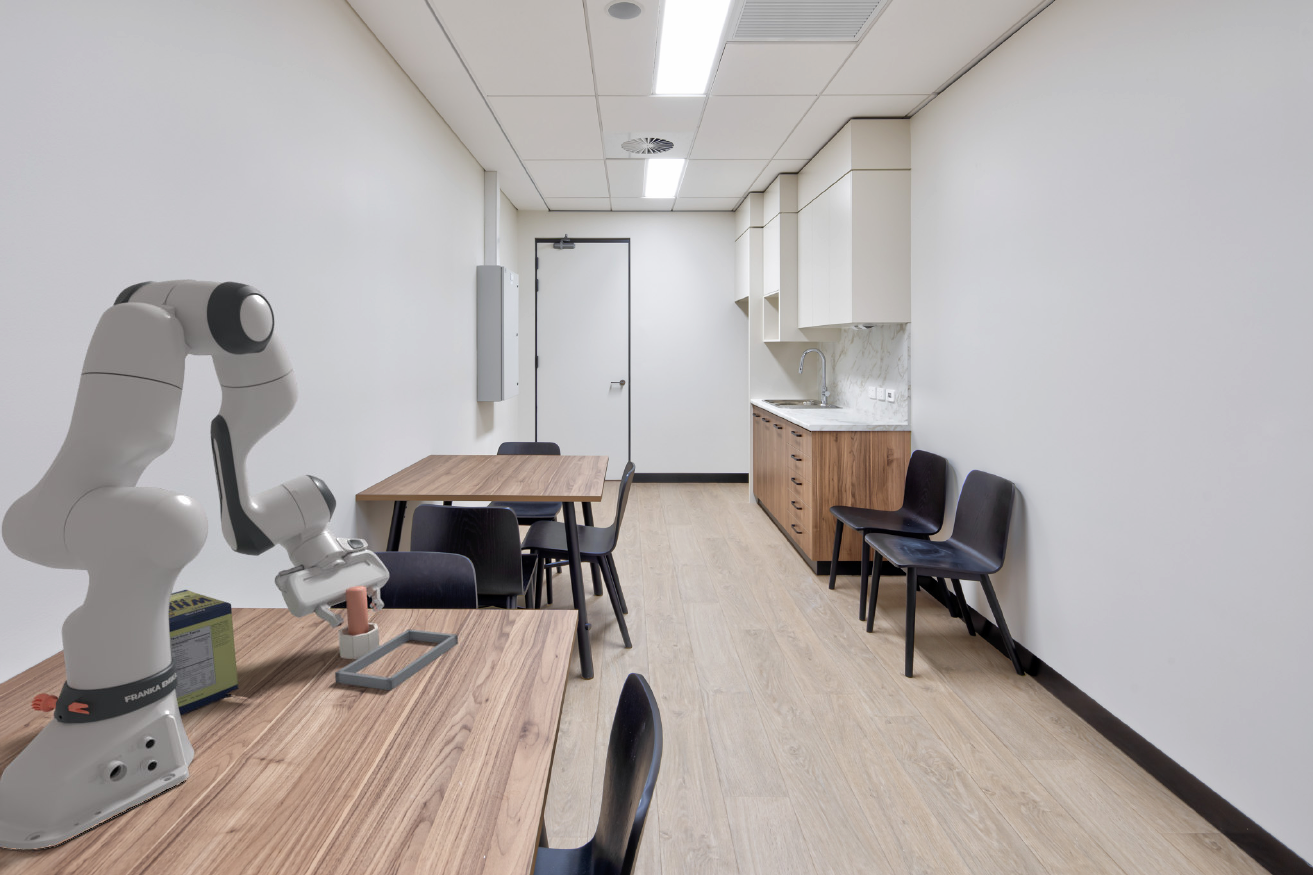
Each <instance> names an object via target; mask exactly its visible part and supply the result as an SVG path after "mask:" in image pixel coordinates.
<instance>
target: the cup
mask: <svg viewBox="0 0 1313 875" xmlns="http://www.w3.org/2000/svg"><path fill="white" fill-rule="evenodd" d="M368 628H369V632H368V633H365V634H359V635H354V636H352V635H348V625H346V626H344V627H343V628H340V629H339V630H338V646H339V648H338V649H339V656H340V658H342V659H348V660H349V659H350V660H357V659H359V658H361V657H362V656H364V655H366V654H367V653H369V652H371V651H373V650H374V649H376V648H378V647H379V646H380V633H379V626H378V623H372V622H368Z"/></svg>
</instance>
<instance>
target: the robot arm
mask: <svg viewBox="0 0 1313 875" xmlns="http://www.w3.org/2000/svg"><path fill="white" fill-rule="evenodd" d="M188 355H193V356H211V359H212V363H213V367H214V370H215V373H216V377H217V379H218V383H219V386H220V389H221V390H220V391H221V403H220V408H219V411H218V414H216V416H215V417H214V418H212V420H211V422H210V442H211V443H210V445H211V452H212V459H213V465H214V466H213V467H214V472H215V478H216V485H217V491H218V497H219V510H220V523H221V524H220V525H221V532H222V535H223V536H222V537H223V538H224V540H225V542H226V543H227V545H228V546H229V547H230V548H231V550H232V551H234V552H235V553H238V554H243V555H247V556H255V557H257V556H260V555H261V554H264V553H265V552H267V551H269V550H271V549H273V548H274V547H276V546H277V545H278V544H279V545H280V546H281V547H283V548H284V549H285V551H286V552H287V555H288V556H287V557H288V559H289V561H290V562H291V564H292V565H293V567H291V568H288V569H283V570H280V571H279V572H278V574H276V575H275V577H274V583H275V586H276V587H277V589H278V590H279V591H280V592H281V593H280V594H281V596H282V598H283V600H284V602H285V604H286V606H287V609H288V610H289V613H290V614H291V615H292V616H294V617H295V618H302V617H306V616H308V615H310V614H313V613H315V615H316V616H317V617H318V618H320V619H321V620H324V621H325V622H328V623H329V625H330V626H331V628H332V629H336V628H338V627H340V626H342V625H343V624H344V621H345V620H344V618H343V617H342V615H341V614H340V613H334V612H332V611H331V610H329V607H332V606H335V605H337V604H340V603H344V602H347V601H346V589H348V588H351V587H356V586H364V587H366V592H367V596H368V597H369V598H371V599H372V601H371V603H370V604H369V607H370V608H371V609H372V611H373V612H378V611H380V610H382V609H383V608H384V607H385V603H384V601H383V600H382V599H381V588H383V587H384V586H385V585H386V583H387V582H388V581H389V579H390V572H389V570H388V567H386V566H385V564H384V563H383V561H382V560H381V559H380V558H379V556H378V555H377V554H376V553H375V552H374V551H372V550H370V549H368V547H369V544H368V543H367V541H366V540H365V539H364V538H363V539H362V538H349V537H348V538H347V537H346V538H345V537H338V536H336V535H335V533H334V532H333V531H331V530H330V529H329V528H328V525H327V524H328V523H330V522H331V519H332V517H333V516H334V513H335V509H336V507H337V500H336V498H335V496H334V494H333V492H332V490H331V489H330V488H329V486H328V485H327V484H326V482H325V481H324V480H322V479H321V478H318V477H317V476H314V475H310V474H305V475H302V476H298V477H296V478H293V479H290V480H288V481H286V482H284V483H281V484H279V485H277V486H274V487H272V488H270V489H267V490H265V491H262V492H260V493H258V494H255V495H252V496H251V492H250V485H249V478H248V470H247V458H248V455H249V453H250V452H251V450H252V449H253V447H254V446H256V444H257V443H258V442H259V441H260V440H261V439H262V438H264V437H265V436H266V435H267V434H268V433H270V432H271V431H272V430H273V429H275V428H276V427H278V426H279V425H281V423H283V422H284V421H285V420H286V419H287V418H288V417H289V415H290V414H291V413H292V411H293V410H294V408H295V406H296V403H297V401H298V397H299V392H298V385H297V384H298V383H297V380H296V375H295V373H294V370H293V367H292V363H291V360H290V357H289V355H288V352H287V350H286V347H285V345H284V342H283V340H282V338H281V337H280V334H279V332H278V330H277V328H276V327H275V315H274V311H273V308H272V305H271V304H270V301H268V299H267V297H265V296H264V294H263V293H262V292H261V291H260V290H259V289H258V288H256V287H254V286H252V285H249V284H245V283H241V282H236V281H235V282H234V281H225V282H218V281H217V282H216V281H210V280H208V281H207V280H196V279H175V280H172V279H171V280H166V281H152V280H150V281H145V282H139V283H135V284H133V285H129V286H128V287H126V288H124V289H123V290H122V291H121V292H120V293H119V294H118V295H117V297H116V299H115V300H114V302H113V305H112V306H110V307H109V308H108V309H105V311H104V312H103V313H102V315H101V317H100V318H99V320H98V322H97V324H96V327H95V329H94V331H93V334H92V336H91V339H90V341H89V345H88V348H87V350H86V354H85V357H84V361H83V366H82V369H81V373H80V378H79V379H80V380H79V385H78V389H77V394H76V398H75V402H74V407H73V411H72V415H71V420H70V425H69V427H68V431H67V434H66V436H65V439H64V441H63V443H62V445H61V447H60V450H59V451H58V453H57V455H56V456H55V458H54V460H53V461H52V462H51V464H50V467H48V469H47V470H46V472H45V473H44V474H43V476H42V478H41V479H40V480H39V481H38V482H37V484H36V485H34V486H33V487H32V489H30V490H29V491H28V492H26V493H25V494H22V496H20V497H19V498H17V499H16V500H15V501H13V503H12V504H11V505H10V506H9V508H8V509H7V510H6V512H5V514H4V516H3V519H2V523H1V537H2V541H3V542H4V544H5V547H7V549H8V550H9V551H10V552H11V553H12V554H13V555H14V556H16V557H18V558H20V559H22V560H26V561H28V562H30V563H34V564H37V565H39V566H44V567H46V568H51V569H61V570H74V571H76V570H78V571H86V572H87V574H88V579H89V580H88V587H87V592H86V594H85V599H84V601H83V604H81V605H80V606H79V607H76V608H75V609H74V610H73V611H72V612H70V614H69V615H67V616H66V618H65V619H64V621H63V623H62V626H61V638H62V647H63V657H64V665H65V666H64V667H65V676H66V680H65V682H64V683H63V685H62V688H61V690H60V693H59V696H57V695H55V694H48V693H39V694H37V695H36V696H34V697H33V700H32V701H31V704H30V706H31V709H32V710H34V711H39V712H40V711H42V712H44V713H49V712H52V711H53V710H54V712H53V718H52V719H50V721H49V722H48V724H46V725H45V726H44V728H43V729H41V730H40V732H39V733H38V734H37V735H36V736H35V737H34V738H33V740H31V742H30V743H28V745H27V746H25V748H24V749H23V750H22V751H21V752H20V753H19V754H18V755H17V756H16V757H15V758H14V759H13V760H12V761H11V762H10V763H9V764H8V765H7V766H6V767H5V769H4V770H3V773H2V774H1V777H0V847H6V848H16V849H19V848H20V849H34V848H41V847H47V846H49V845H55V844H57V843H59V842H61V841H63V840H65V839H68V838H69V837H72V836H74V835H77V834H78V833H81V832H82V831H85V830H86V829H88V828H91V827H92V826H94V825H95V824H98V823H99V822H101V821H103V820H105V819H108V818H109V817H111V816H113V815H115V814H117V813H119V812H122V811H124V810H126V809H127V808H129V807H132V806H134V805H135V804H139V803H141V802H142V801H145V800H146V799H148V798H149V797H152V796H153V795H156V794H158V793H160V792H162V791H163V790H166V789H167V788H170V787H173V786H174V785H177V784H178V783H181V782H182V781H184V780H185V779H187V778H188V777H189V778H190V772H189V766H190V764H191V763H192V761H193V760H194V757H195V750H194V748H193V746H192V744H191V742H190V739H189V737H188V735H187V733H186V729H185V726H184V724H183V720H182V715H180V712H179V708H178V703H177V698H176V692H175V690H176V686H177V684H178V680H177V670H176V663H175V659H174V658H173V657H172V656H171V648H170V632H169V603H170V598H171V594H172V593H173V590H174V587H175V584H176V581H177V579H178V577H179V575H180V573H181V572H182V571H183V570H184V568H185V567H186V566H187V565H188V564H190V563H191V562H192V561H193V560H194V559H196V557H197V556H198V555H199V554H200V553H201V551H202V549H203V547H204V546H205V543H206V541H207V538H208V533H209V523H208V521H209V520H208V517H207V514H206V512H205V509H204V508H203V506H202V505H201V503H200V502H199V501H197V499H195V498H193V497H191V496H189V495H185V494H183V493H180V492H176V491H172V490H167V489H163V488H159V487H153V486H152V487H149V486H137V483H138V481H139V479H140V478H141V476H142V474H143V473H144V472H145V470H146V469H147V467H148V466H149V465H150V464H151V463H152V462H153V461H154V460H155V459H157V458H158V457H161V456H162V455H163V454H165V453H166V452H167V451H169V449H170V448H171V447H172V445H173V444H174V441H175V437H176V431H177V426H178V419H179V413H180V408H181V407H180V406H181V401H182V393H183V388H184V380H185V370H186V358H187V356H188ZM189 778H188V779H189ZM188 779H187V780H188ZM184 782H185V781H184ZM181 784H182V783H181ZM177 786H178V785H177ZM173 788H174V787H173ZM145 802H146V801H145ZM141 804H142V803H141ZM139 805H140V804H139Z"/></svg>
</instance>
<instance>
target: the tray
mask: <svg viewBox="0 0 1313 875" xmlns="http://www.w3.org/2000/svg"><path fill="white" fill-rule="evenodd" d="M458 637H459V635H458V634H455V633H454V634H453V633H445V632H436V631H427V630H420V629H419V630H418V629H411V628H410V629H409V628H408V629H406V630H404V631H403V632H402V633H400V634H398V635H396V636H394V637H393V638H391V639H389V640H388V641H386V642H384V643H383V644H381V645H379V647H378V648H376V649H374V650H373V651H371V652H369V653H367V654H366V655H364V656H362V657H361V658H358V659H355V660H354V661H352V662H350V663H349V664H347V665H346V666H344V667H342V668H341V669H339V670H337V671H336V672H335V673H334V678H335V683H336V684H343V685H349V686H350V685H351V686H356V687H357V686H358V687H365V688H373V689H379V690H386V691H392V690H393V689H395V688H396V687H398V686H399V685H401V684H402V683H404V682H406V680H408V679H409V678H411V677H412V676H414V675H415V674H416V673H418V672H419V671H421V670H423V668H425V667H427V666H428V665H430V664H431V663H433V662H434V661H436V659H438V658H440V657H441V656H442V655H444V654H445V653H446V652H448V651H450V650H451V649H452V648H454V647H455V646H456V645H458V644H459V638H458ZM409 641H418V642H425V643H426V642H428V643H435V644H437V645H436V646H434V647H433V648H431V649H429V650H428V651H427V652H425V653H424V654H422V655H421V656H420V657H418V658H416V659H415V660H413V661H412V662H410V663H409V664H408V665H406V666H404V667H403V668H401V669H400V670H398V671H397V672H396V673H394V674H393V675H391V676H390V677H388V676H381V675H374V674H373V675H371V674H365V673H359V672H361V671H362V670H363V669H365V668H366V667H368V666H370V665H371V664H373V663H375V662H376V661H379V660H380V659H381V658H382V657H384V656H386V655H387V654H389V653H391V652H392V651H395V649H398V648H399V647H400V646H402V645H404V644H405V643H408V642H409Z"/></svg>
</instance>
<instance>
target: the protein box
mask: <svg viewBox="0 0 1313 875" xmlns="http://www.w3.org/2000/svg"><path fill="white" fill-rule="evenodd" d="M232 610H233V609H232V603H231V602H230V603H229V602H227V601H224V600H220V599H217V598H213V597H210V596H207V595H204V594H201V593H197V592H194V591H191V590H189V589H182V590H179V591H175V592H172V594H171V598H170V603H169V632H170V648H171V656H172V657H173V658H174V659H175V663H176V670H177V680H178V684H177V686H176V690H175V692H176V698H177V703H178V708H179V712H180V716H183V715H185V714H187V713H190V712H192V711H194V710H197V709H199V708H202V707H204V706H208V705H210V704H212V703H215V702H217V701H220V700H222V699H225V698H227V697H230V696H232V695H233V694H231V693H230V692H234V691H235V690H238V689H239V682H238V681H239V680H238V671H237V660H236V659H237V658H236V648H235V636H234V633H235V632H234V624H233V613H232V612H233V611H232Z"/></svg>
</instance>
